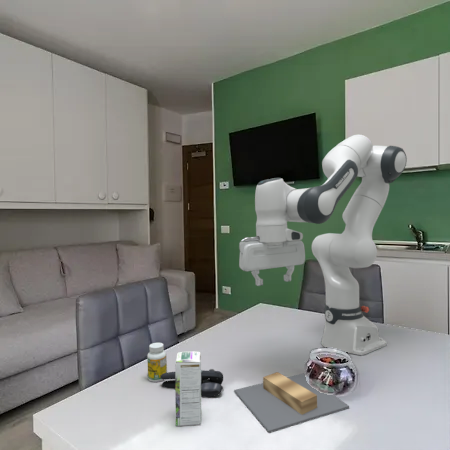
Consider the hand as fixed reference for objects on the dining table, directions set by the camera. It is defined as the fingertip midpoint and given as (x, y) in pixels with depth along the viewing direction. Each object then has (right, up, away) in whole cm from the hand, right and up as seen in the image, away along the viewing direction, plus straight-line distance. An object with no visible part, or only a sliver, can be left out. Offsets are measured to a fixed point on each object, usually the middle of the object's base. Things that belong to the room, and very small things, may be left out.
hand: (273, 283), depth 96 cm
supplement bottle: (-33, -28, 0) cm, 43 cm away
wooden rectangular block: (+2, -27, -12) cm, 29 cm away
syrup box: (-22, -28, -19) cm, 40 cm away
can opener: (-23, -28, -6) cm, 37 cm away
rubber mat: (+2, -27, -12) cm, 30 cm away
